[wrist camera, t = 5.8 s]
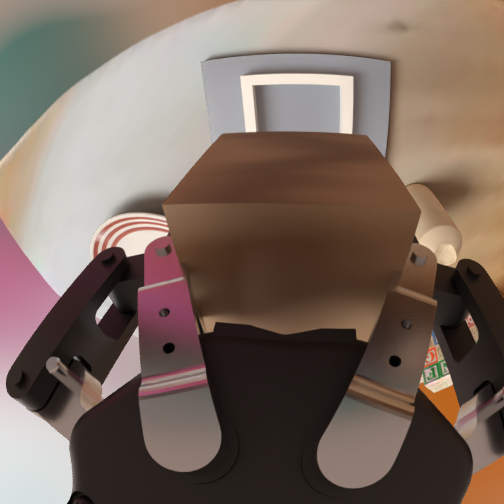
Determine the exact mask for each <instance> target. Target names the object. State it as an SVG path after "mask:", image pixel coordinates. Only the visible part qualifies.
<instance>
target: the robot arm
mask: <svg viewBox="0 0 504 504" xmlns="http://www.w3.org/2000/svg"><path fill="white" fill-rule="evenodd" d="M108 295H109V297H110V298H111V300H112V302H113V304H112V305H111V307H110V308H109V309H108V311H107V312H106V314H105V315H104V316H103V318H102V319H101V321H100V322H99V324H98V325H97V324H96V320H95V315H96V312H97V310H98V309H99V307H100V306H101V305H102V303H103V302H104V301H105V299H106V298H107V297H108ZM469 313H470V315H471V317H472V319H473V321H474V323H475V325H476V327H477V330H478V341H477V343H476V342H475V340H474V337H473V335H472V333H471V331H470V329H469V327H468V325H467V322H466V320H465V319H466V318H467V316H468V315H469ZM137 326H138V330H139V350H140V364H141V373H140V374H138V375H137V376H136V377H134V378H133V379H132V380H130V381H129V382H127V383H126V384H125V385H123V386H122V387H121V388H119V389H118V390H117V391H115V392H114V393H112V394H111V395H109V396H108V397H107V398H105V399H103V397H102V387H101V386H102V384H103V383H104V381H105V379H106V377H107V375H108V374H109V372H110V371H111V369H112V367H113V365H114V364H115V362H116V360H117V359H118V357H119V355H120V354H121V352H122V350H123V349H124V347H125V346H126V344H127V342H128V341H129V339H130V337H131V336H132V334H133V333H134V331H135V329H136V328H137ZM432 331H434V334H435V336H436V339H437V341H438V344H439V346H440V349H441V351H442V354H443V357H444V359H445V362H446V365H447V368H448V371H449V374H450V376H451V379H452V383H453V386H454V389H455V392H456V395H457V398H458V402H459V405H460V410H459V412H458V416H457V421H456V422H455V425H454V427H453V426H452V425H451V423H450V422H449V421H448V420H447V419H446V418H445V417H444V415H443V414H442V413H441V412H440V411H439V410H438V409H437V408H436V406H435V405H434V404H433V403H432V402H431V401H430V400H429V399H428V398H427V397H426V395H425V394H424V393H423V392H422V391H421V390H420V389H419V388H418V387H419V384H420V380H421V377H422V373H423V370H424V366H425V362H426V358H427V354H428V350H429V345H430V341H431V336H432ZM6 388H7V392H8V393H9V395H10V396H11V397H12V398H14V399H15V400H16V401H18V402H19V403H21V404H22V405H24V406H25V407H26V408H27V409H28V410H29V411H31V412H32V413H34V414H35V415H37V416H38V417H40V418H42V419H43V420H45V421H47V422H48V423H49V424H50V425H51V426H52V427H54V428H55V429H56V430H57V431H58V432H59V433H61V434H62V435H63V436H64V437H65V438H67V439H68V440H69V441H70V447H69V449H70V457H71V463H72V474H73V489H72V495H71V497H70V500H69V501H68V503H67V504H461V502H462V499H463V497H464V496H465V493H466V491H467V489H468V487H469V484H470V481H471V478H472V475H473V474H474V473H476V472H478V471H480V470H481V469H483V468H485V467H486V466H488V465H489V464H491V463H493V462H494V461H496V460H497V459H499V458H500V457H502V456H504V299H503V297H502V295H501V294H500V292H499V290H498V289H497V287H496V286H495V284H494V283H493V281H492V279H491V278H490V276H489V275H488V273H487V272H486V270H485V269H484V268H483V267H482V266H481V265H480V264H479V263H477V262H475V261H473V260H471V259H462V260H460V261H459V262H458V264H457V266H456V268H452V267H449V266H445V265H442V264H439V263H437V258H436V256H435V254H434V253H433V252H432V251H431V250H430V249H429V248H427V247H425V246H423V245H421V244H419V242H418V240H417V238H416V236H414V239H413V242H412V246H411V249H410V252H409V255H408V258H407V261H406V264H405V266H404V269H403V271H394V274H393V277H392V279H391V282H390V285H389V288H388V291H387V294H386V297H385V300H384V303H383V305H382V308H381V310H380V313H379V315H378V317H377V319H376V321H375V324H374V326H373V328H372V331H371V333H370V336H369V338H368V341H367V342H365V341H362V340H358V339H357V337H356V329H336V328H320V329H315V330H310V331H304V332H299V333H293V334H280V333H276V332H272V331H269V330H266V329H262V328H259V327H255V326H252V325H248V324H235V323H224V322H215V326H214V329H213V332H208V333H207V330H206V326H205V322H204V318H203V315H202V312H201V309H198V307H197V304H196V301H195V298H194V294H193V291H192V286H191V281H190V276H189V272H188V269H187V266H186V263H179V261H178V258H177V254H176V251H175V248H174V245H173V242H172V238H171V235H170V232H169V233H168V234H167V236H163V237H160V238H157V239H155V240H153V241H152V242H151V243H150V244H148V246H147V247H146V249H145V252H144V253H143V254H139V255H134V256H129V257H127V256H126V253H125V251H124V249H123V248H121V247H110V248H107V249H105V250H103V251H102V252H100V253H99V254H98V255H97V256H96V257H95V258H94V259H93V260H92V261H91V262H90V263H89V265H88V266H87V267H86V268H85V269H84V270H83V271H82V273H81V274H80V275H79V276H78V277H77V278H76V280H75V281H74V282H73V283H72V284H71V286H70V287H69V288H68V289H67V290H66V292H65V293H64V294H63V295H62V297H61V298H60V299H59V301H58V302H57V303H56V304H55V306H54V307H53V308H52V309H51V311H50V312H49V313H48V315H47V316H46V318H45V319H44V320H43V322H42V323H41V324H40V325H39V327H38V328H37V330H36V331H35V332H34V334H33V335H32V337H31V338H30V340H29V341H28V342H27V344H26V345H25V347H24V348H23V350H22V351H21V353H20V354H19V356H18V357H17V359H16V361H15V362H14V364H13V365H12V367H11V369H10V370H9V372H8V375H7V379H6Z"/></svg>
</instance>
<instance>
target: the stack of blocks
mask: <svg viewBox="0 0 504 504" xmlns="http://www.w3.org/2000/svg"><path fill="white" fill-rule="evenodd" d="M465 320H466V322H467V325H468V327H469V329H470V331H471V333H472V335H473V337H474V340H475V342H476V343H477V341H478V330H477V327H476V325H475V323H474V321H473V319H472V317H471V315H470V313H469V315H468V316H467V318H466V319H465ZM421 382H424V385H425V386H426V387H427V388H428V389H430V390H431V391H432V392H433V393H434V392H437V391H439V390H441V389H444V388H446V387H448V386H451V385H453V383H452V379H451V376H450V374H449V371H448V368H447V365H446V362H445V359H444V357H443V354H442V351H441V349H440V346H439V344H438V341H437V339H436V336H435V334H434V331H432V336H431V341H430V345H429V350H428V354H427V358H426V362H425V366H424V370H423V373H422V377H421V380H420V383H421Z"/></svg>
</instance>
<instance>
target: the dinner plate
mask: <svg viewBox="0 0 504 504" xmlns="http://www.w3.org/2000/svg"><path fill="white" fill-rule="evenodd" d="M168 233H169V228H168V225H167V221H166V218H165V216H163V215H159V214H153V213H143V212H133V213H124V214H120V215H117V216H114V217H112V218H110V219H108V220H106V221H105V222H104V223H102V224H101V225H100V226H99V227H98V229H97V230H96V232H95V233H94V235H93V238H92V241H91V246H90V257H91V261H92V260H93V259H94V258H95V257H96V256H97V255H98V254H99V253H100V252H102V251H103V250H105V249H107V248H110V247H121V248H123V249H124V251H125V253H126V256H127V257H129V256H134V255H139V254H143V253H144V252H145V249H146V247H147V246H148V244H150V243H151V242H152V241H153V240H155V239H157V238H160V237H163V236H167V234H168Z"/></svg>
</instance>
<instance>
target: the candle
mask: <svg viewBox="0 0 504 504" xmlns="http://www.w3.org/2000/svg"><path fill="white" fill-rule="evenodd" d="M406 188H407V189H408V191H409V192H410V194H411V195H412V197H413V198H414V200H415V202H416V203H417V205H418V206H419V208H420V209H421V215H420V219H419V222H418V226H417V229H416V233H415V236H416V238H417V240H418V242H419V244H421V245H423V246H425V247H427V248H429V249H430V250H431V251H432V252H433V253H434V254H435V256H436V258H437V263H439V264H442V265H445V266H448V265H451V264H453V263H454V262H455V261H456V260H457V256H458V254H459V252H460V249H461V246H462V236H461V233H460V231H459V230H458V228H457V227H456V225H455V224H454V222H453V221H452V219H451V218H450V216H449V215H448V213H447V212H446V210H445V209H444V208H443V206H442V205H441V203H440V202H439V201H438V199H437V198H436V197H435V195H434V194H433V193H432V191H431V190H430V189H429V188H427V187H426V186H424V185H422V184H411V185H408V186H406Z"/></svg>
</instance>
